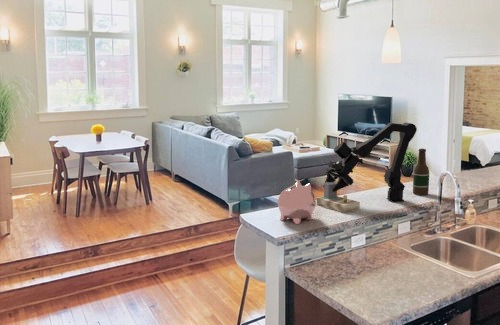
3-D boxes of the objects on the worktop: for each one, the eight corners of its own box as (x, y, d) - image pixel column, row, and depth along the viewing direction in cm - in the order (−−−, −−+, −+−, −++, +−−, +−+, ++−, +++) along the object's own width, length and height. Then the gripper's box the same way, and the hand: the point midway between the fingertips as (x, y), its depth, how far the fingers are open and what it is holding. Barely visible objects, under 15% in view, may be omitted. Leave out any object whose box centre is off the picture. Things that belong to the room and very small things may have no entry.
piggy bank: (323, 218, 212) (323, 183, 209) (297, 227, 200) (297, 190, 197) (297, 211, 223) (297, 178, 220) (271, 220, 211) (270, 185, 208)
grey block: (332, 195, 236) (332, 182, 235) (336, 197, 232) (337, 183, 230) (324, 196, 234) (324, 182, 233) (328, 198, 230) (328, 184, 229)
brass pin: (346, 201, 226) (346, 195, 225) (347, 202, 224) (347, 196, 224) (343, 201, 225) (343, 195, 225) (344, 202, 224) (344, 196, 223)
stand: (359, 209, 224) (359, 201, 224) (344, 212, 219) (344, 205, 218) (331, 201, 240) (331, 194, 239) (316, 204, 235) (316, 197, 234)
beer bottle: (412, 195, 248) (413, 149, 244) (413, 191, 256) (414, 147, 251) (428, 196, 246) (430, 150, 241) (428, 192, 253) (430, 148, 248)
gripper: (329, 152, 239) (309, 175, 238) (348, 157, 222) (326, 182, 220) (342, 166, 243) (323, 189, 242) (362, 172, 226) (341, 197, 224)
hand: (328, 189), depth 232 cm, fingers open, 9 cm apart
